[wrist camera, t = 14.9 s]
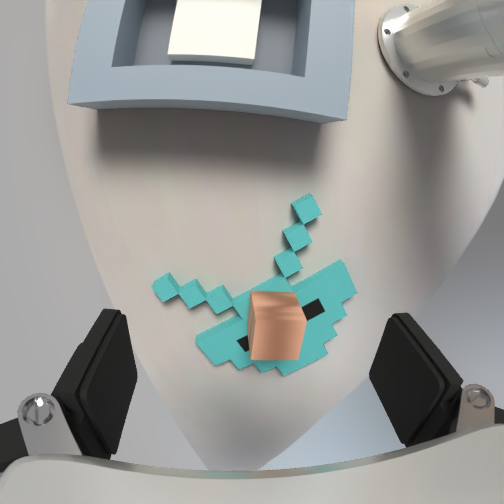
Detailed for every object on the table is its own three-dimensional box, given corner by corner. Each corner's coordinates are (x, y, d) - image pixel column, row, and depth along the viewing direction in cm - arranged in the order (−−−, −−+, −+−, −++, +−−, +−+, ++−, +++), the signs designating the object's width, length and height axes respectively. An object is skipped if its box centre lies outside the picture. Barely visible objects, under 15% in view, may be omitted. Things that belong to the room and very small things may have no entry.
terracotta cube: (294, 292, 34) (307, 320, 29) (287, 328, 36) (298, 359, 31) (250, 290, 34) (255, 319, 28) (246, 327, 36) (250, 359, 30)
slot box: (332, -14, 23) (354, -40, 17) (321, 123, 30) (346, 119, 23) (124, -27, 21) (107, -55, 14) (97, 109, 27) (67, 104, 20)
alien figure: (155, 278, 35) (240, 383, 42) (151, 287, 33) (241, 394, 40) (307, 192, 33) (365, 321, 40) (312, 196, 31) (371, 329, 38)
